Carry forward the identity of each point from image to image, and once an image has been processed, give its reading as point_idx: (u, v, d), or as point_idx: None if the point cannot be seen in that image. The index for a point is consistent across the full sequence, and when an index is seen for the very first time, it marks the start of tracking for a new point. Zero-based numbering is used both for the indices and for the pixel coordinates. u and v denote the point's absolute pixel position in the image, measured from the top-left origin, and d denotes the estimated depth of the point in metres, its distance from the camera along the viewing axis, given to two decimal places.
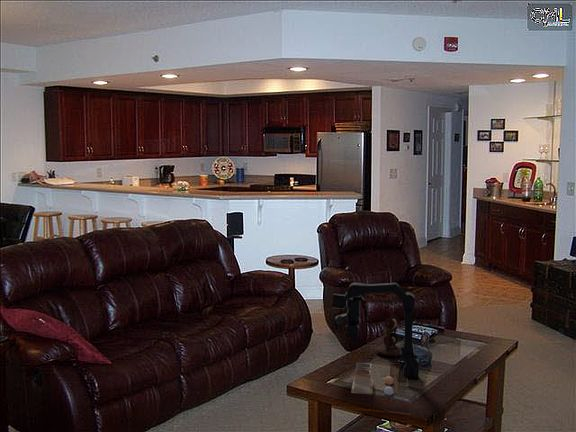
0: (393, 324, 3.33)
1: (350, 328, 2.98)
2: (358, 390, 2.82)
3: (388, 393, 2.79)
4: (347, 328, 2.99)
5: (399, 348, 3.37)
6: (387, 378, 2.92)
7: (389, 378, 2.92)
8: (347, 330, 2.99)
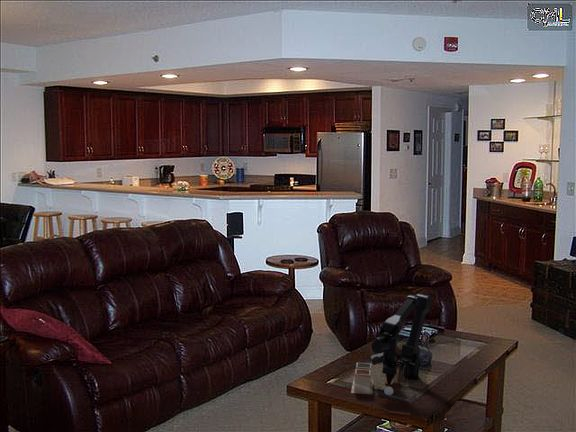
0: None
1: (388, 370, 2.84)
2: (358, 390, 2.82)
3: (388, 393, 2.79)
4: (384, 370, 2.84)
5: (399, 348, 3.37)
6: None
7: None
8: (384, 372, 2.84)
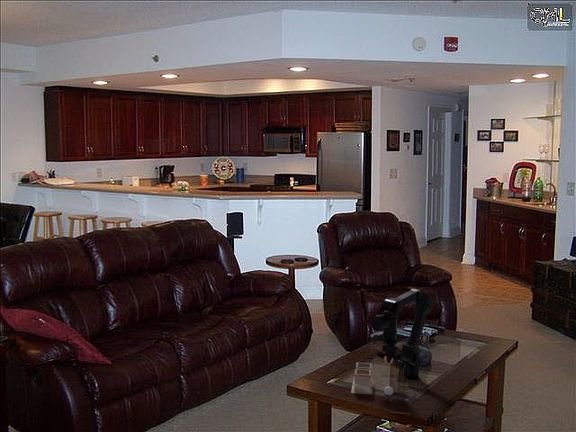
0: None
1: (387, 348, 2.82)
2: (358, 390, 2.82)
3: (388, 393, 2.79)
4: (384, 348, 2.82)
5: (399, 348, 3.37)
6: None
7: None
8: (384, 350, 2.83)
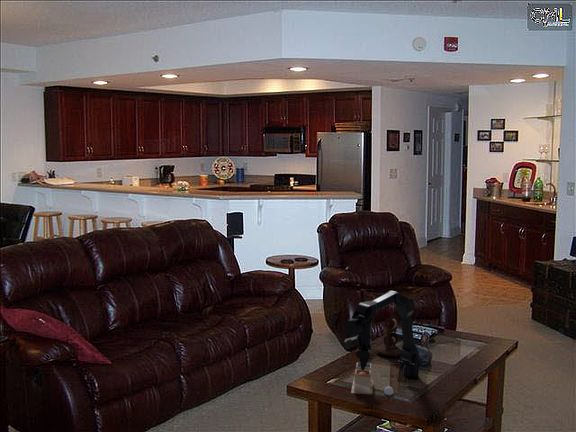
0: (393, 324, 3.33)
1: (361, 353, 2.74)
2: (358, 390, 2.82)
3: (388, 393, 2.79)
4: (358, 353, 2.74)
5: (399, 348, 3.37)
6: None
7: None
8: (358, 355, 2.74)
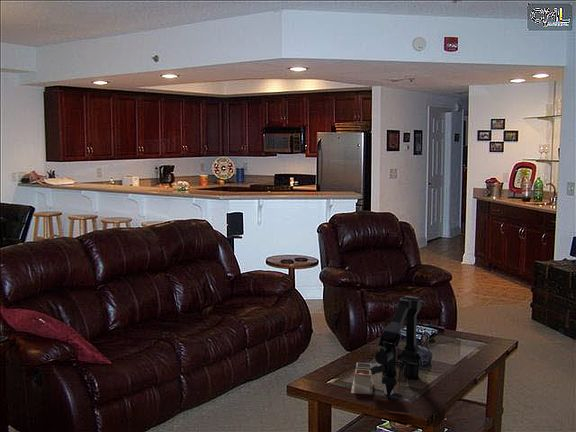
0: None
1: (387, 380, 2.71)
2: (358, 390, 2.82)
3: None
4: (384, 380, 2.71)
5: (399, 348, 3.37)
6: None
7: None
8: (384, 382, 2.71)
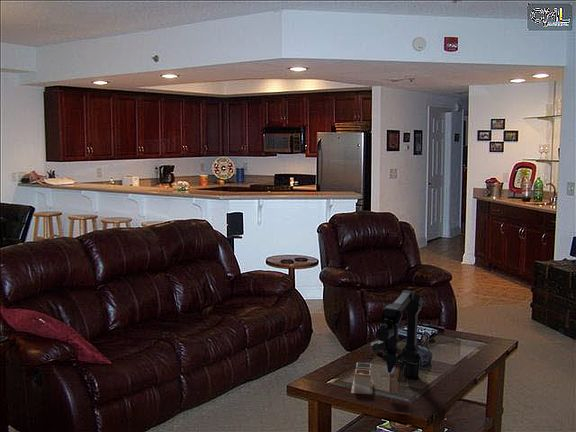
0: None
1: (388, 357, 2.70)
2: (358, 390, 2.82)
3: None
4: (385, 357, 2.70)
5: (399, 348, 3.37)
6: None
7: None
8: (385, 359, 2.70)
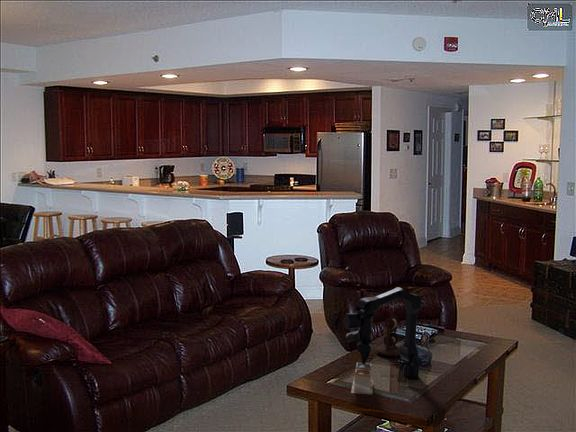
0: (393, 324, 3.33)
1: (362, 347, 2.83)
2: (358, 390, 2.82)
3: None
4: (359, 347, 2.83)
5: (399, 348, 3.37)
6: None
7: None
8: (359, 349, 2.83)
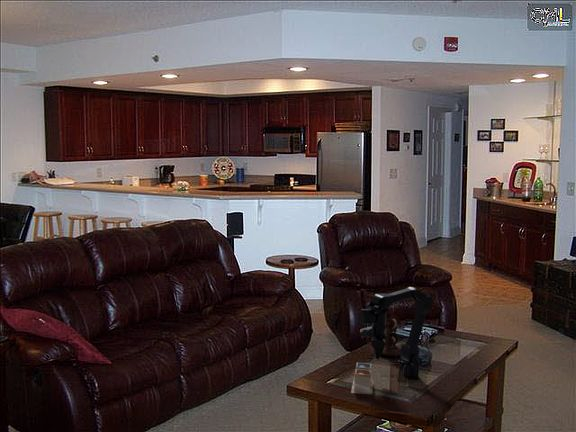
0: (393, 324, 3.33)
1: (376, 342, 2.85)
2: (358, 390, 2.82)
3: None
4: (373, 342, 2.85)
5: (399, 348, 3.37)
6: None
7: None
8: (373, 344, 2.85)
